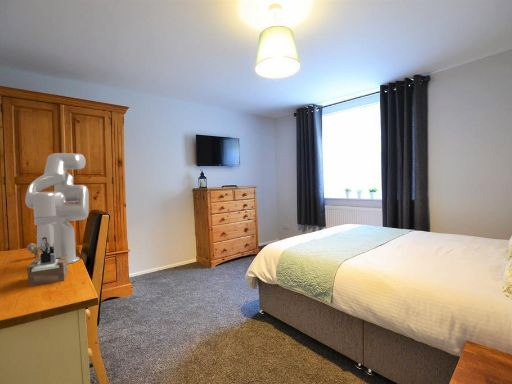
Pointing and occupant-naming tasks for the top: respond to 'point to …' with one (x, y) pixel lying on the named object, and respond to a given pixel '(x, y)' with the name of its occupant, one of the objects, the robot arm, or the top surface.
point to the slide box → (47, 273)
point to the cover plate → (47, 264)
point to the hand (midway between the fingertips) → (48, 259)
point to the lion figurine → (34, 249)
